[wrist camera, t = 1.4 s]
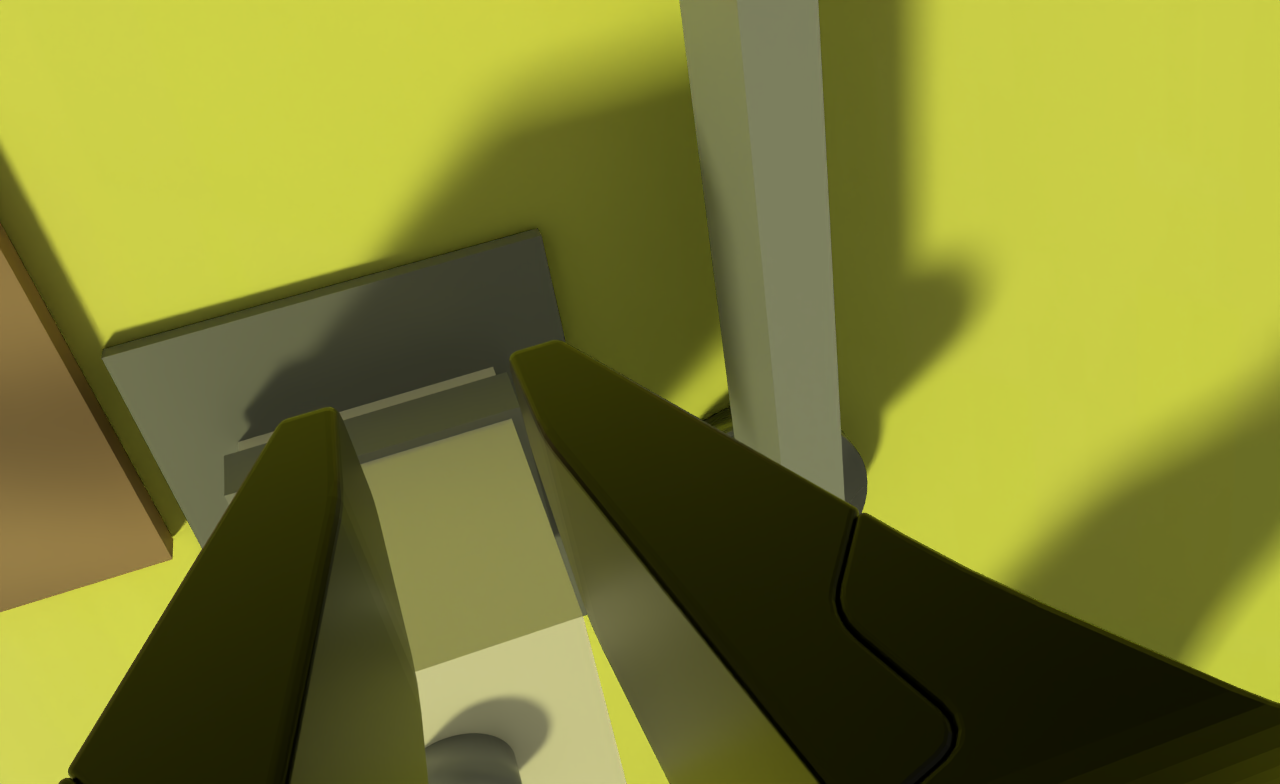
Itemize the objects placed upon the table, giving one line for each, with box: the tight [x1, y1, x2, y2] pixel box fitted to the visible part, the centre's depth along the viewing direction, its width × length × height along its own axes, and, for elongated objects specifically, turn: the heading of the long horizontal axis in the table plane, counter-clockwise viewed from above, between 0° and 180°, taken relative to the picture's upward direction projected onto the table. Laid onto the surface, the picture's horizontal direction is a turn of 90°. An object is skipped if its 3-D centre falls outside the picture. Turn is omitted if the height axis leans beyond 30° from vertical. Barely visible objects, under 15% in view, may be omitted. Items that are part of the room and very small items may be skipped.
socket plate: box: [102, 228, 588, 616], centre depth 24 cm, size 10×8×1 cm
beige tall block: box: [224, 367, 627, 784], centre depth 21 cm, size 5×5×8 cm
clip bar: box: [679, 0, 845, 501], centre depth 20 cm, size 16×3×4 cm, turn 8°
